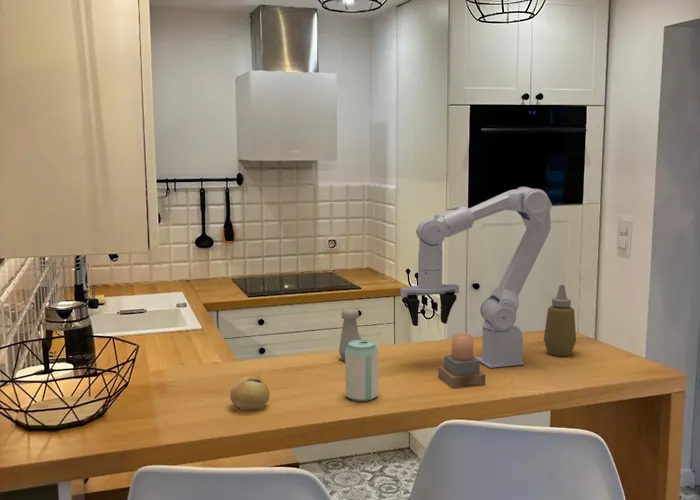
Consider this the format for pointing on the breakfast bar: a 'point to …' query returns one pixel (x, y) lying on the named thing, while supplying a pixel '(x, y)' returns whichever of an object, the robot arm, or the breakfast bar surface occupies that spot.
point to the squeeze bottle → (560, 325)
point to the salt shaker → (348, 329)
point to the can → (361, 370)
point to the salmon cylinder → (462, 347)
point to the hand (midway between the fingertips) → (429, 323)
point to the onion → (249, 393)
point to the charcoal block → (461, 366)
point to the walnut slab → (461, 379)
